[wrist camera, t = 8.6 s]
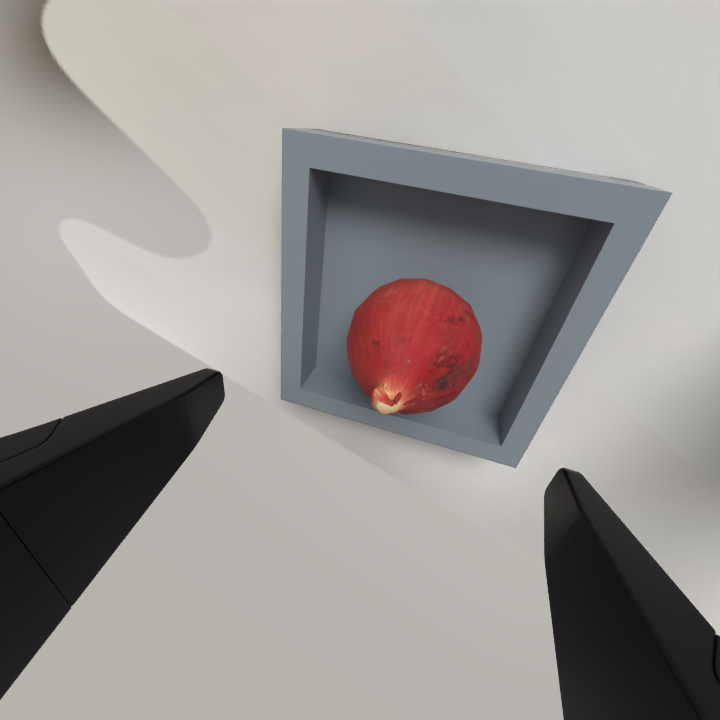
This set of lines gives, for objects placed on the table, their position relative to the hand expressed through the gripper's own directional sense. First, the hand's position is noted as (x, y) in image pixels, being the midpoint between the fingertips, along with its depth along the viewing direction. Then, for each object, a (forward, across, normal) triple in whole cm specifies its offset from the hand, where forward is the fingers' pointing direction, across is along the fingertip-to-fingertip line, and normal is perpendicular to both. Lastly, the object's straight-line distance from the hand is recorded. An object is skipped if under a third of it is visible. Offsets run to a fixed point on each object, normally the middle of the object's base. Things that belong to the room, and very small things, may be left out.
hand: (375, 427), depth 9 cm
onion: (+11, 0, +1) cm, 11 cm away
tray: (+12, 0, +1) cm, 12 cm away
